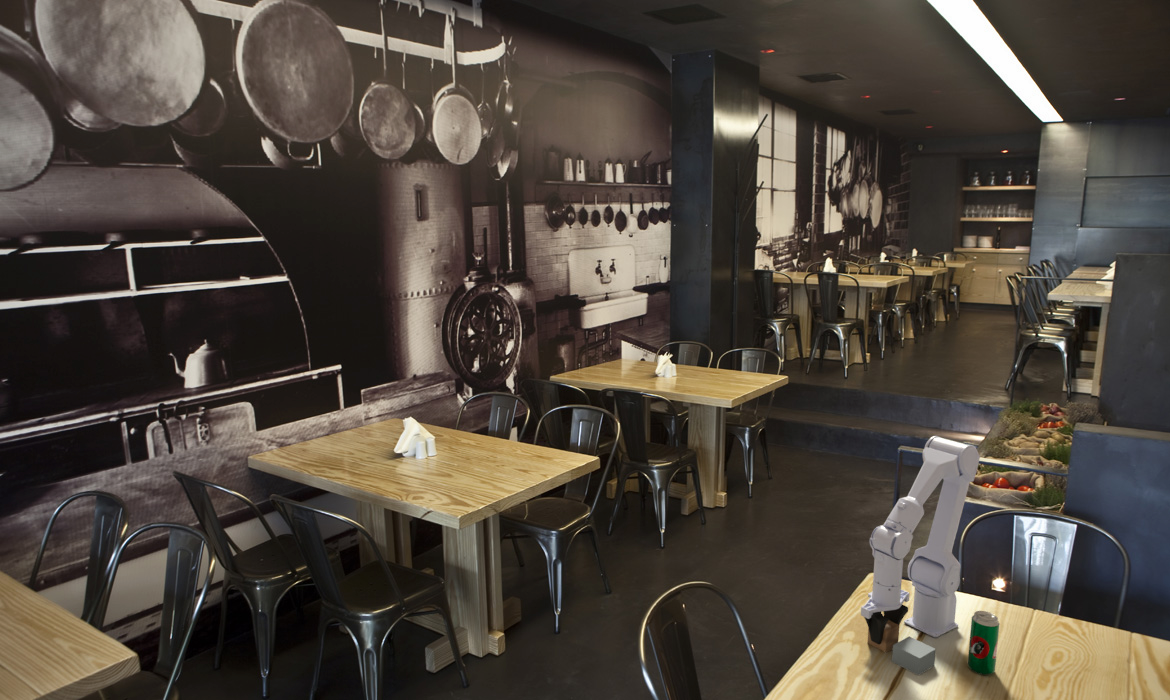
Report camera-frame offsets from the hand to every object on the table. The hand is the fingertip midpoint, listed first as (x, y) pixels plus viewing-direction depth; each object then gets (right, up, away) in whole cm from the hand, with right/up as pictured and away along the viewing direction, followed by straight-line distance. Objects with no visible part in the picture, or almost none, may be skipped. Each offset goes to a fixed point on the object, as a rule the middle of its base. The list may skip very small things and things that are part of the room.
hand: (883, 638), depth 164 cm
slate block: (+4, -3, -7) cm, 8 cm away
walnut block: (0, -1, 0) cm, 1 cm away
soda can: (+17, -3, -9) cm, 19 cm away
